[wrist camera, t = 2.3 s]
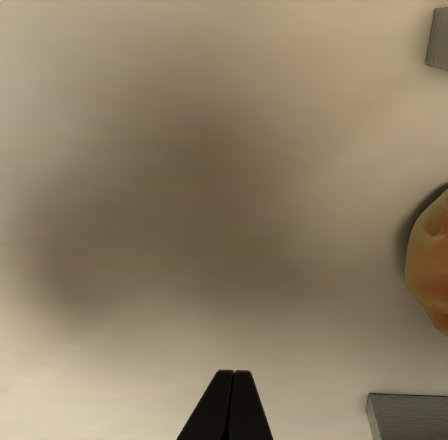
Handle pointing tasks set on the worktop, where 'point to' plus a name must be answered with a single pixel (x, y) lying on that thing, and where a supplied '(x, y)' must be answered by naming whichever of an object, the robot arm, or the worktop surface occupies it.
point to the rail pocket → (402, 404)
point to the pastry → (430, 261)
